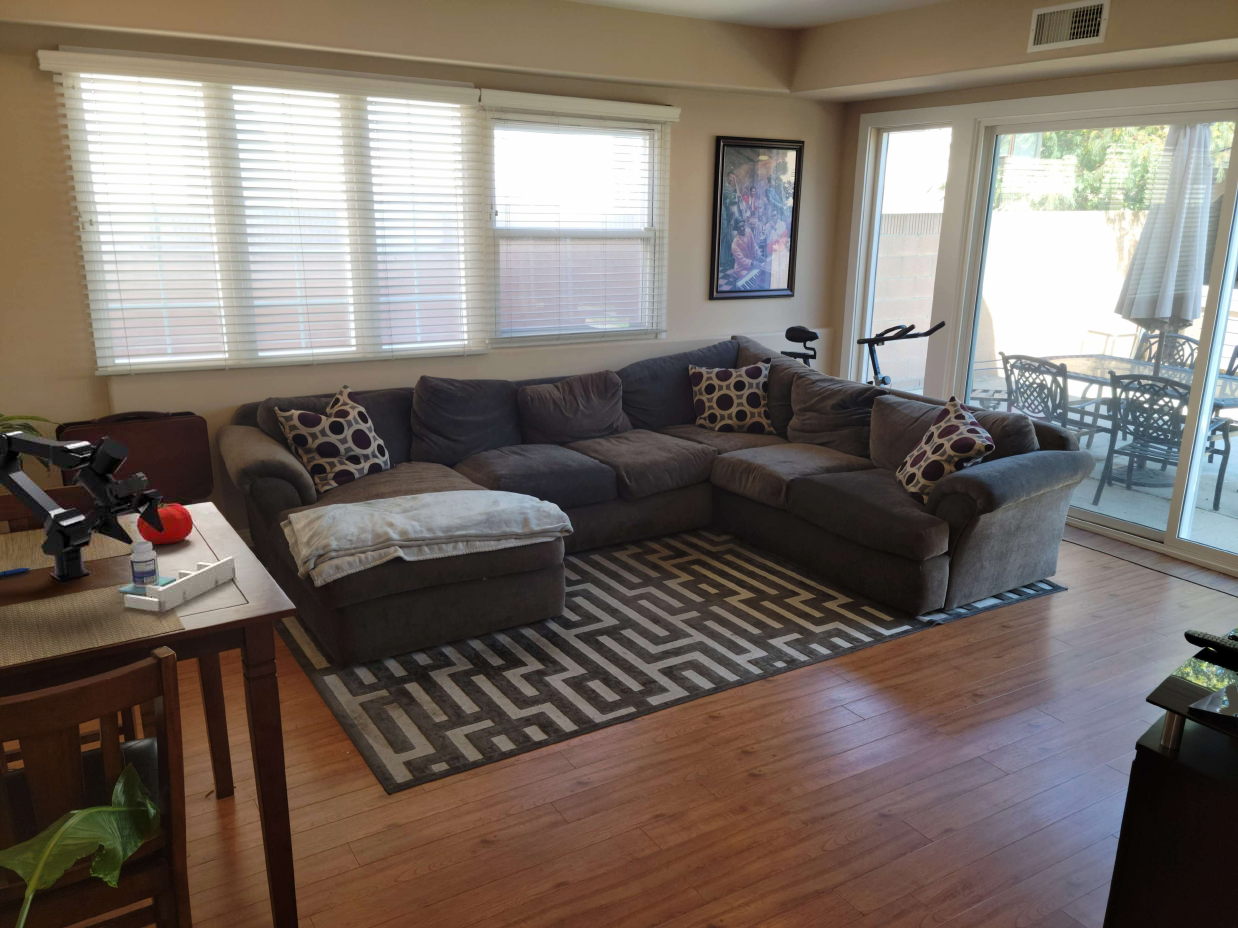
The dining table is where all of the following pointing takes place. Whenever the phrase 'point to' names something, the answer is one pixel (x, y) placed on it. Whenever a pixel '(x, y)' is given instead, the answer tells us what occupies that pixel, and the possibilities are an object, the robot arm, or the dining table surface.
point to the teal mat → (142, 590)
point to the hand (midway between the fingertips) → (147, 537)
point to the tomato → (168, 525)
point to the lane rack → (184, 586)
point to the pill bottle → (144, 564)
